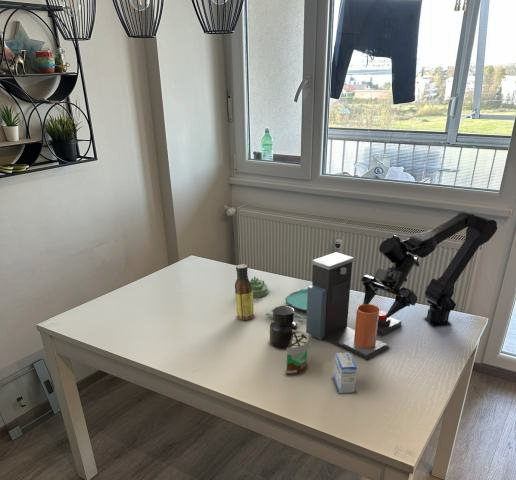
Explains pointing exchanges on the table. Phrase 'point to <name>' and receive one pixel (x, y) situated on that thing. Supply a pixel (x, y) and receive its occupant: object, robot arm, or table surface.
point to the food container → (297, 352)
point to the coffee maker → (334, 304)
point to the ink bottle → (282, 327)
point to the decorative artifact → (258, 288)
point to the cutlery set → (296, 302)
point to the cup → (366, 326)
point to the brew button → (382, 315)
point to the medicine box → (345, 372)
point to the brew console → (387, 325)
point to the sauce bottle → (243, 294)
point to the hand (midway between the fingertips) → (374, 312)
